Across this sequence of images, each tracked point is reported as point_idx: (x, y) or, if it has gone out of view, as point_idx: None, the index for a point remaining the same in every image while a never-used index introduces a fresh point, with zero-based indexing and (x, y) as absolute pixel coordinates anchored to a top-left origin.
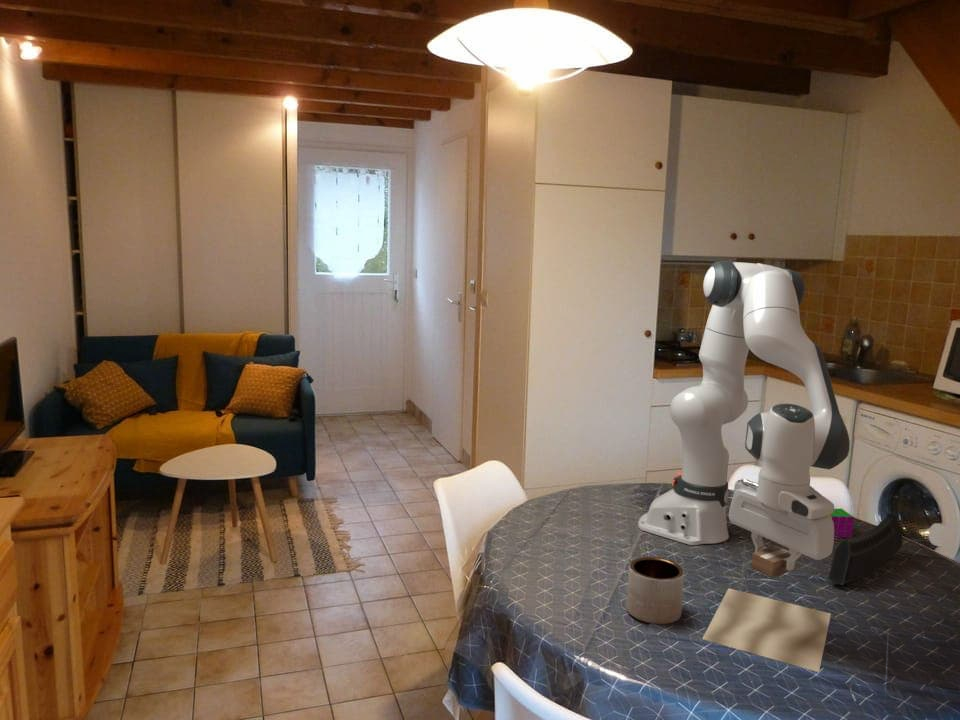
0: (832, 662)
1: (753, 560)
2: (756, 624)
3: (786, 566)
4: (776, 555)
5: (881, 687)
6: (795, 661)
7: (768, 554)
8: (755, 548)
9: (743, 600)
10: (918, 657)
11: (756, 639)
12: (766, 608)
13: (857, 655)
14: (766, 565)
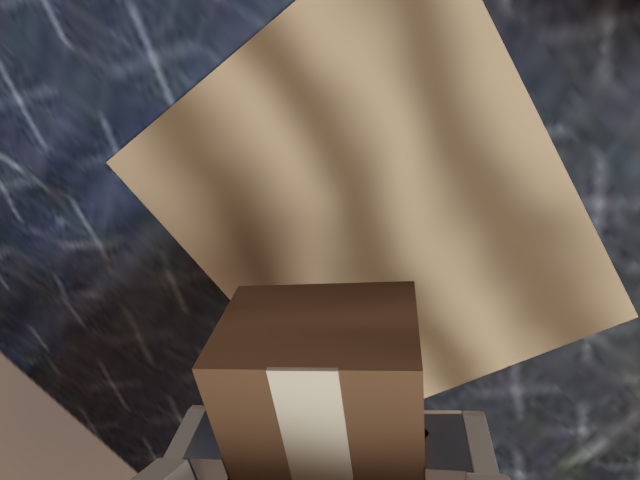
0: (162, 249)
1: (401, 323)
2: (399, 209)
3: (196, 420)
4: (294, 475)
5: (42, 261)
6: (170, 143)
7: (333, 446)
8: (493, 458)
9: (542, 295)
10: (139, 421)
11: (324, 129)
12: (459, 316)
13: (176, 328)
14: (269, 331)
